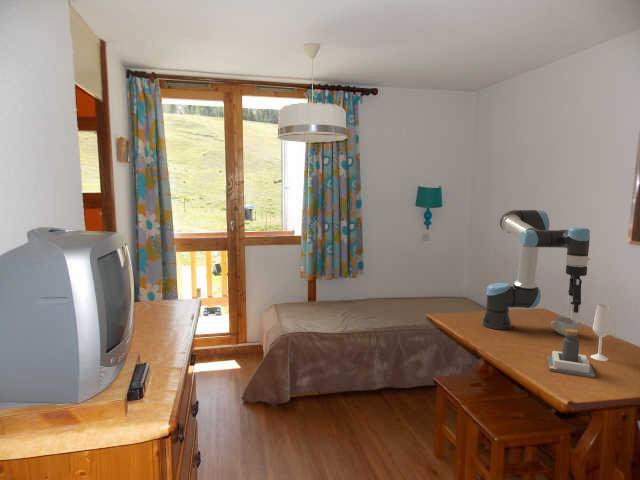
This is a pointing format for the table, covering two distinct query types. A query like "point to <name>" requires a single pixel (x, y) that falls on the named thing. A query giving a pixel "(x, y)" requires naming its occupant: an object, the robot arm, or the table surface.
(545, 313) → the table surface
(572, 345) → the bottle
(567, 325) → the teacup
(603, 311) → the champagne flute
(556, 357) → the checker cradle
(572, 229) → the robot arm
